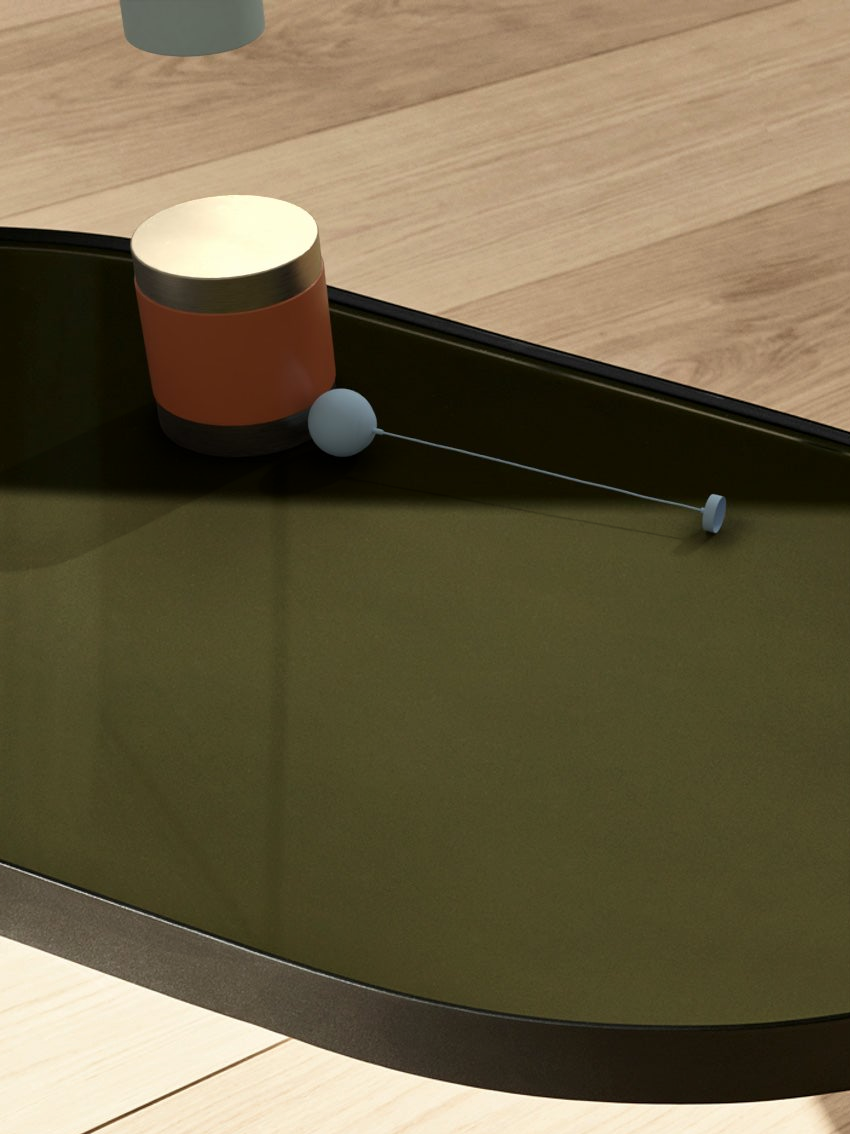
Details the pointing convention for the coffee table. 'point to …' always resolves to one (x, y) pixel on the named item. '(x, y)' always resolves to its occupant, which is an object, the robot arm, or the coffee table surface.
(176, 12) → the bottle
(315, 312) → the tin
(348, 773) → the coffee table surface
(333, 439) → the ball ended pin
